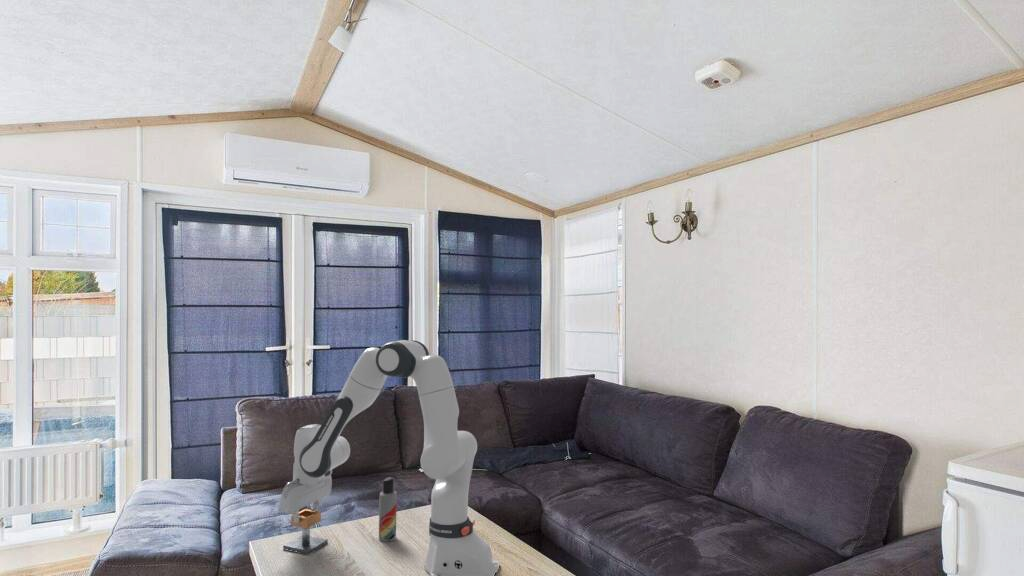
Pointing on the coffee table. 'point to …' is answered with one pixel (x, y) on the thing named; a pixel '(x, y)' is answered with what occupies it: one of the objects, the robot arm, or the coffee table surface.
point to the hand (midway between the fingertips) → (306, 518)
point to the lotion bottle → (387, 511)
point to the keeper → (305, 543)
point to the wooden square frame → (307, 518)
